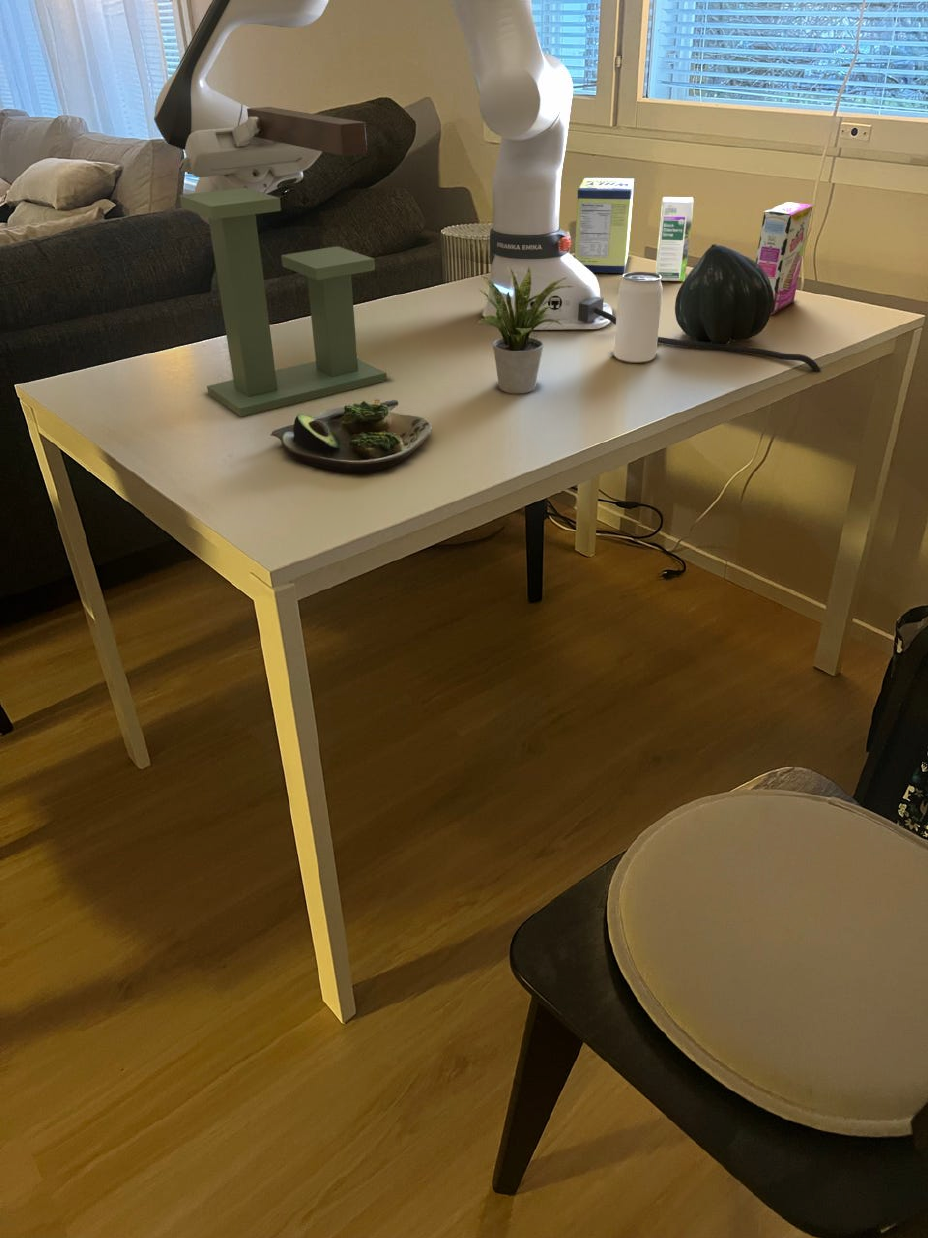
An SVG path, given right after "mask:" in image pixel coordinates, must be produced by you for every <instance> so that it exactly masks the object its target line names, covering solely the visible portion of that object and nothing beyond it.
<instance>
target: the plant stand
mask: <svg viewBox="0 0 928 1238" xmlns="http://www.w3.org/2000/svg"><path fill="white" fill-rule="evenodd" d="M178 197H179V202H180V208H181V209H184V210H185V211H189V212H192V213H194V214H197V215H198V214H199V215H202V216H205V217H207V218H208V220H209V224H208V225H209V226H208V227H209V231H210V238H211V239H210V240H211V245H212V251H213V258H214V263H215V270H216V271H215V272H216V276H217V283H218V290H219V296H220V297H219V298H220V302H221V309H222V315H223V321H224V328H225V335H226V341H227V347H228V354H229V355H228V356H229V361H230V367H231V374H232V379H231V380H227V381H222V382H217V383H214V384H209V385H207V386H206V389H207V390H206V391H207V395H209V396H210V397H212V398H213V399H215V400H216V401H217V402H219V403H221V404H222V405H223V406H225V407H226V408H227V409H229V410H230V411H232V412H234V413H235V415H238V416H239V417H240V418H242V417H246V416H247V417H248V416H250V415H254V414H259V413H263V412H267V411H270V410H274V409H278V408H283V407H286V406H290V405H295V404H298V403H304V402H306V401H310V400H315V399H318V398H322V397H326V396H331V395H334V394H335V395H336V394H339V393H342V392H347V391H350V390H355V389H359V388H363V387H366V386H371V385H375V384H379V383H384V382H387V380H388V379H387V372H385V371H383V370H381V369H380V368H377V367H375V366H373V365H371V364H369V363H367V362H365V361H364V360H361V359H359V358H358V349H357V337H356V327H355V326H356V324H355V323H356V322H355V312H354V311H355V309H354V298H353V285H352V275H355V274H360V273H366V272H371V271H375V270H376V268H375V267H376V266H375V258H373V257H371V256H367V255H365V254H361V253H359V252H355V251H353V250H351V249H347V248H345V247H342V246H339V245H337V246H331V247H324V248H317V249H311V250H305V251H300V252H293V253H286V254H281V255H280V258H281V266H282V267H283V268H286V269H288V270H290V271H293V272H295V273H298V274H300V275H303V276H305V277H306V279H307V289H308V298H309V308H310V309H309V310H310V317H311V319H310V320H311V325H312V326H311V327H312V336H313V337H312V339H313V346H314V356H315V361H310V362H307V363H302V364H297V365H293V366H288V367H285V368H280V369H276V365H275V357H274V349H273V341H272V335H271V333H272V332H271V326H270V325H271V324H270V319H269V318H270V317H269V310H268V303H267V296H266V287H265V280H264V272H263V265H262V257H261V256H262V255H261V248H260V241H259V233H258V224H257V216H256V215H261V214H267V213H275V212H281V211H282V208H281V199H280V197H279V196H278V197H277V196H274V195H271V194H269V193H268V194H265V193H261V192H258V191H255V190H251V189H248V188H236V189H228V190H220V191H211V192H203V193H187V194H180V195H179V196H178ZM199 215H198V216H199Z"/></svg>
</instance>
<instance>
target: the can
mask: <svg viewBox="0 0 928 1238" xmlns="http://www.w3.org/2000/svg"><path fill="white" fill-rule="evenodd" d="M660 279H661V276H660V275H658V274H656V273H655V272H652V271H630V272H626V273H623V274H622V280H621V281H620V283H619V285H618V292H617V293H618V294H617V304H616V316H615V317H616V325H615V328H614V329H615V330H614V340H613V342H614V343H613V356H614V357H615V359H617V360H618V361H621V362H623V363H631V364H644V363H648V362H651V361H653V360H654V358H656V356H657V348H658V343H657V341H658V337H659V332H660V320H661V312H662V301H663V292H664V291H663V290H664V289H663V284H662V280H660Z"/></svg>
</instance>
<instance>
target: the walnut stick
mask: <svg viewBox="0 0 928 1238" xmlns="http://www.w3.org/2000/svg"><path fill="white" fill-rule="evenodd" d="M247 113H248V118H249V117H253V116H260V118H261V122H262V124H263V130H262V131H261V133H260V134H258V135H254V136H253V137H257V138H262V139H266V140H271V141H276V142H280V143H285V144H290V145H294V146H299V147H303V148H308V149H313V150H317V151H322V153H328V154H331V155H337V156H341V157H348V156H356V155H365V154H368V147H367V145H368V144H367V132H366V122H365V121H361V120H360V121H359V120H353V119H347V118H340V117H334V116H330V115H329V116H328V115H322V114H316V113H309V112H303V111H298V110H291V109H286V108H285V109H284V108H278V107H272V106H263V107H249V108H248V109H247Z"/></svg>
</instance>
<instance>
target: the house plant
mask: <svg viewBox="0 0 928 1238" xmlns="http://www.w3.org/2000/svg"><path fill="white" fill-rule="evenodd" d="M510 270H511V268H510ZM511 273H512V278H513V283H514V291H515V318H514V312H513V308H512V304H511V297H510V293H509V292H508V293H507V295H506V301H507V305H508V309H509V312H508V309H507V305H506V303H505V301H504V299H503V297H502V294H501V293H500V291H499V289H498V288H497V287H496V286H495V285H494V284H493V283H492V282H491V281H490V278H488V277H485V276H483V275H480V276H481V278H483V279H484V281H485V283H486V284H487V285H488V288H489V287H490V289H491V291H492V293H493V295H494V298H495V300H496V303H497V304H496V303H495V302H494V301H493V300H492V299H491V298H490V297H489V296H488V295H487V294H488V293H486V292H485V291H483V290H482V289H481V288H478V290H479V292H481V293H482V294H483V295H484V296H485V297H486V299H487V298H488V299H489V301H490V302H491V303H492V304H493V305H494V306H495V308H496V309H497V311H496V316H497V317H495V316H486V318H485V317H483V318H480V319H478V320H477V321H476V322H475V323H474V324H477V323H478V324H479V323H480V324H490V325H494V326H495V328H496V329H497V330H498V331H499V333H500V335H501V338H498V339H495V340H494V341H493V343H492V349H493V355H494V361H495V369H496V376H497V383H498V388H499V389H500V390H501V391H502V392H506V393H508V394H527V393H530V392H533V391H534V390H535V389H536V385H537V381H538V376H539V370H540V366H541V360H542V355H543V350H544V342H543V341H542V340H541V339H538V338H536V337H537V336H538V335H539V334H540V332H538V333H537V334H536V335H535V336H534V337H531V334H532V332H533V331H534V330H533V329H534V328H535V327H537V326H538V325H539V324H541V323H544V322H551V323H552V322H556V323H559V324H560V325H562V324H561V323H560V322H558V321H557V320H566V319H557V320H554V319H545V320H542V319H543V318H545V317H546V316H548V315H547V314H544V312H545V311H546V310H547V309H548V308H549V307H552V306H554V305H551V306H547V307H545V308H543V309H542V310H541V311H540V309H539V308H540V306H541V305H542V303H543V301H544V300H545V299H546V297H547V296H548V295H549V294H550V293H551V292H553V291H555V290H557V289H560V288H569V287H571V286H561V287H560V286H557V287H554V286H555V285H556V284H557V283H559V282H560V281H562V280H564V279H566V278H567V277H566V278H563V279H559V280H557V281H555V282H553V283H552V284H550V285H549V286H548V287H547V288H545V289H544V290H543V291H542V293H541V294H538V295H536V296H534V297H532V298H530V299H529V295H530V290H531V272H530V269H529V268H528V271H527V275H526V276H525V277H524V278H523V281H522V283H521V286H520V288H519V286H518V283H517V281H516V278H515V275H514V272H513V271H512V270H511ZM535 298H537V299H536V300H535V302H534V304H533V305H532V307H531V309H528V310H527V306H528V303H529V302H530V301H532V300H534V299H535ZM551 300H559V299H550V300H548V301H546V302H545V303H547V302H549V301H551ZM545 303H544V304H545ZM544 304H543V305H544ZM543 305H542V306H543ZM542 306H541V307H542ZM537 312H538V313H537ZM509 314H510V315H509ZM531 316H532V317H531ZM549 316H550V315H549ZM530 318H531V319H530ZM502 320H503V321H502ZM529 320H530V321H529ZM540 320H542V321H540ZM503 322H504V323H505V325H504V323H503ZM528 322H529V323H528ZM551 323H550V324H551ZM527 324H528V325H527ZM546 327H547V326H546ZM546 327H545V328H546ZM545 328H544V329H545Z"/></svg>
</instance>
